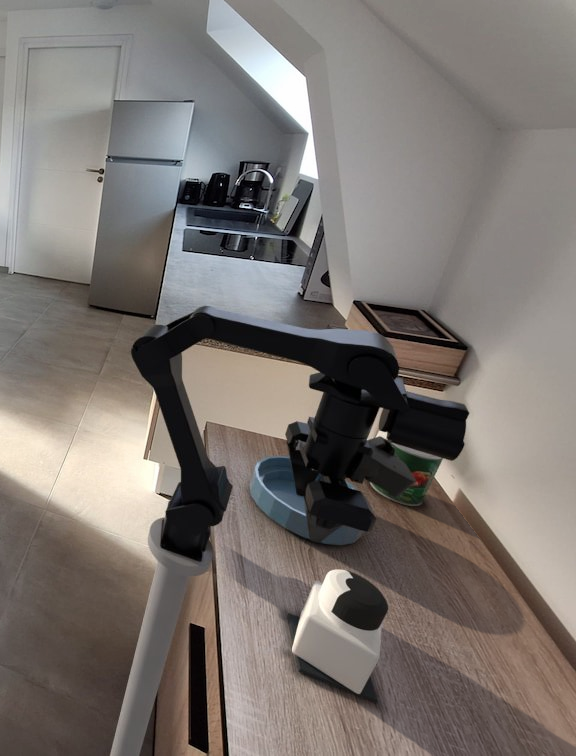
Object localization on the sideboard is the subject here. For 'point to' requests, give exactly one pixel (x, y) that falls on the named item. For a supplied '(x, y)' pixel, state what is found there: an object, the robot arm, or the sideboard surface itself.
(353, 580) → the medicine bottle
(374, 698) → the coaster
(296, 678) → the sideboard surface
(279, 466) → the blue saucer dish
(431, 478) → the canned tomato
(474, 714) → the sideboard surface
